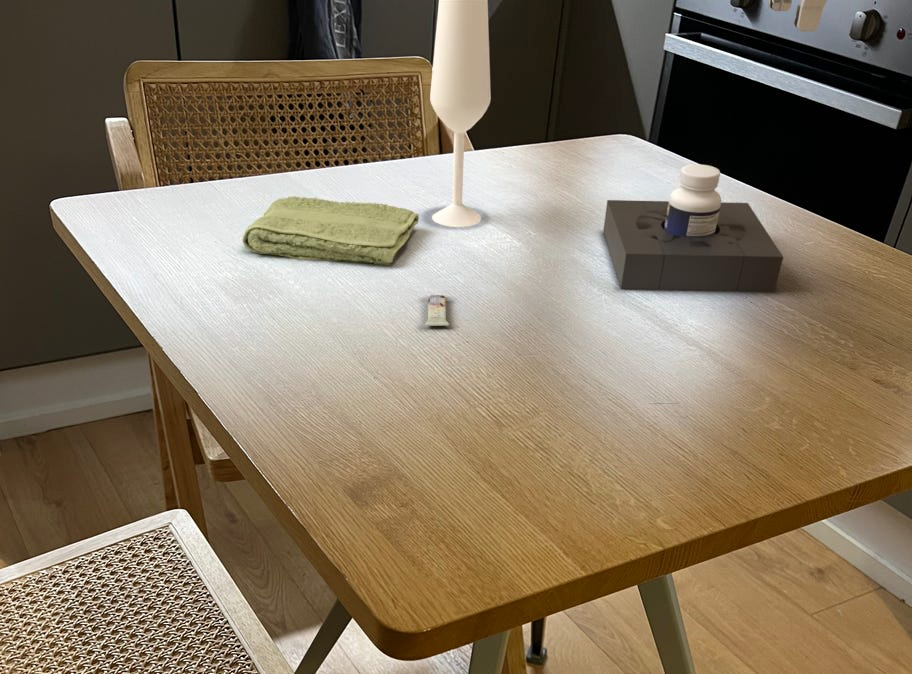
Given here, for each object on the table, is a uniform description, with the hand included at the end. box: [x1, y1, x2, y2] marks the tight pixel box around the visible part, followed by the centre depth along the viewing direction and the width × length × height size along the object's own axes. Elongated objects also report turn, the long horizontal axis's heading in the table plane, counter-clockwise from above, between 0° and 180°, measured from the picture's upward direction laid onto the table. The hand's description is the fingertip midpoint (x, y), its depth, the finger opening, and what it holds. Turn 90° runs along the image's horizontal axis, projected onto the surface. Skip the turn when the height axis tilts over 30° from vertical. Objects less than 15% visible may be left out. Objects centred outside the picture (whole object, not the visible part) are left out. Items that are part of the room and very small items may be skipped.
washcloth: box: [242, 195, 420, 266], centre depth 108 cm, size 13×18×3 cm
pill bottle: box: [664, 163, 722, 238], centre depth 103 cm, size 5×5×10 cm
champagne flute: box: [429, 0, 492, 228], centre depth 107 cm, size 7×7×24 cm
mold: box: [602, 199, 784, 294], centre depth 105 cm, size 16×16×4 cm
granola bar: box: [424, 294, 450, 327], centre depth 95 cm, size 7×2×1 cm, turn 0°
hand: (791, 19), depth 89 cm, fingers open, 8 cm apart
